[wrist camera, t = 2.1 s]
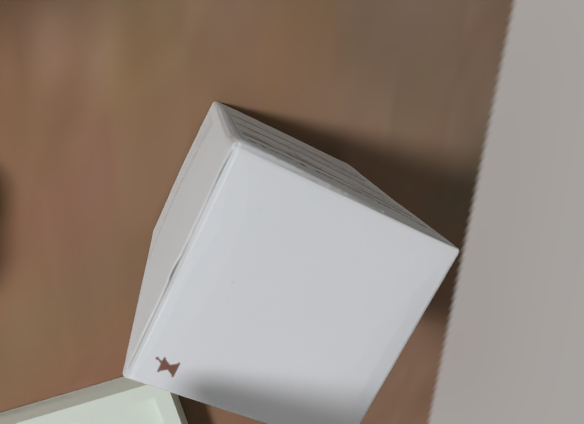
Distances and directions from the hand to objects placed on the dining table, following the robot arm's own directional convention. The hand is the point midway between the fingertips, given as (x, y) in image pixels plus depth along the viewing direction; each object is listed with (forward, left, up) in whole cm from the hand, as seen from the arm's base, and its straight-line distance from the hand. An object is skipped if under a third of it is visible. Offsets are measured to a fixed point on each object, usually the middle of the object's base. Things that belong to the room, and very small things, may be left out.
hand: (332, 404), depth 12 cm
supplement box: (0, 0, -17) cm, 17 cm away
